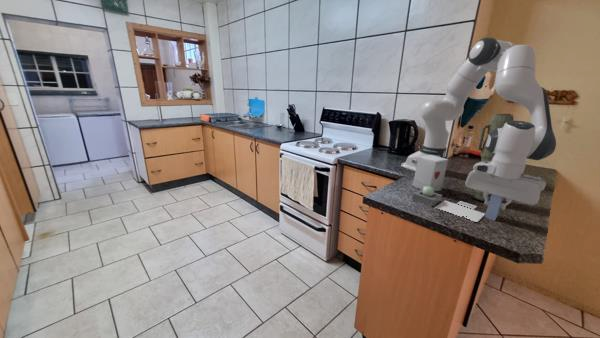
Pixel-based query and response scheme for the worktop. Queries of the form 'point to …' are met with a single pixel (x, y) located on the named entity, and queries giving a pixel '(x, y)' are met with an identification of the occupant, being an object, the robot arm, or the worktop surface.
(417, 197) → the button housing
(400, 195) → the worktop surface
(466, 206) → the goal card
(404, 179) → the worktop surface
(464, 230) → the worktop surface
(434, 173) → the supplement box
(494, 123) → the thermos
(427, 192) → the button
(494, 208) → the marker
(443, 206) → the white flat plate
